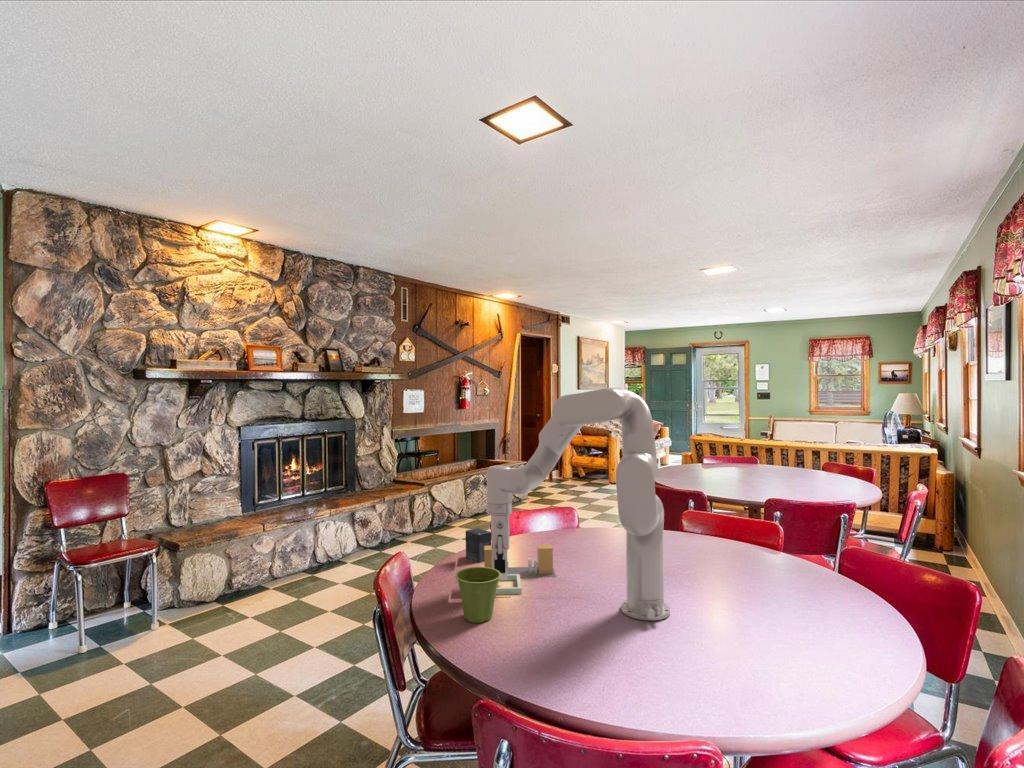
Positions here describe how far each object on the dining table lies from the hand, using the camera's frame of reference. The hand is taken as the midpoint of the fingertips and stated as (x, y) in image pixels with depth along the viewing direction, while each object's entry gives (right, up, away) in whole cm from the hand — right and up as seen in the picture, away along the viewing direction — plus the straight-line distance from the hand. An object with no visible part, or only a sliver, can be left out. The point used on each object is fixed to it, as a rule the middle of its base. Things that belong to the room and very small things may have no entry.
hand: (499, 569), depth 158 cm
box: (-8, -7, +27) cm, 28 cm away
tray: (0, -6, 0) cm, 6 cm away
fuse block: (+6, -6, +12) cm, 15 cm away
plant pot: (-5, -6, -19) cm, 21 cm away
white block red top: (0, -2, 0) cm, 2 cm away
